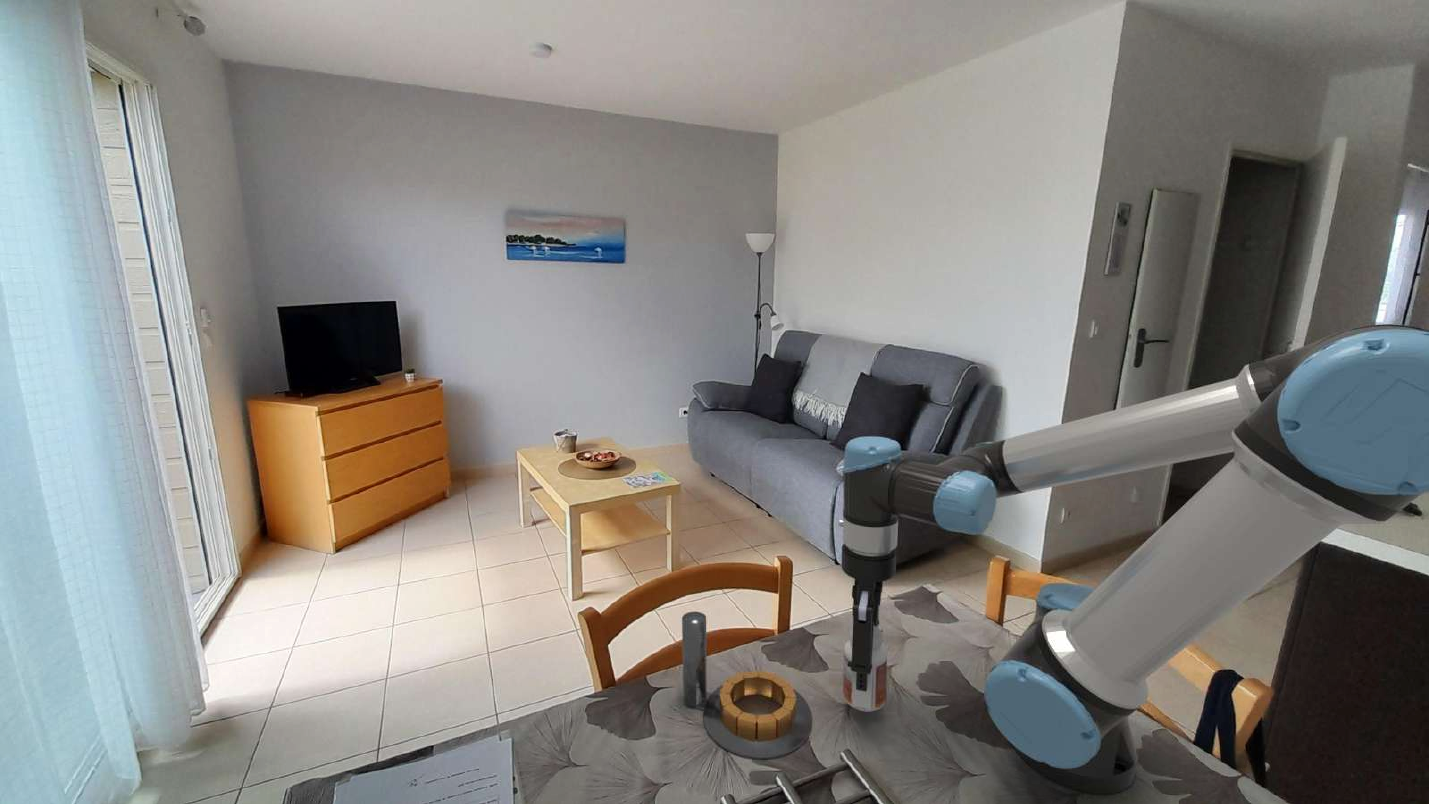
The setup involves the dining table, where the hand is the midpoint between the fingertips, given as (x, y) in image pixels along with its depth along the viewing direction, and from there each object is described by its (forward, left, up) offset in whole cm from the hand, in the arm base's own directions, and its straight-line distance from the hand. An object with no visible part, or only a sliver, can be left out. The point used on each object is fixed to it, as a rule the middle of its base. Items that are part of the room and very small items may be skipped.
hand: (864, 690), depth 88 cm
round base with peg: (+17, +7, -3) cm, 18 cm away
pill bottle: (0, 0, -2) cm, 2 cm away
